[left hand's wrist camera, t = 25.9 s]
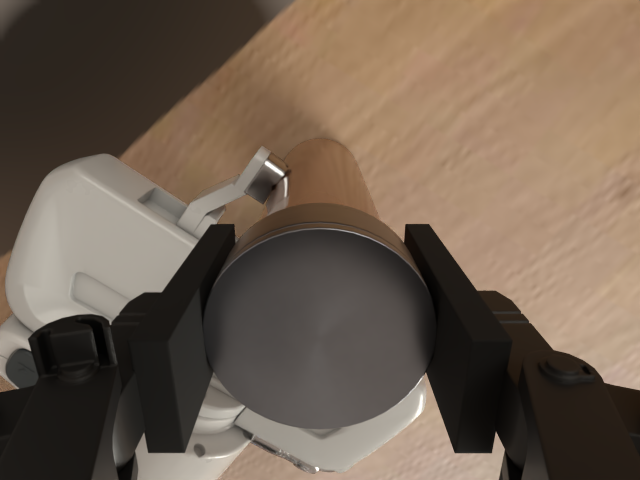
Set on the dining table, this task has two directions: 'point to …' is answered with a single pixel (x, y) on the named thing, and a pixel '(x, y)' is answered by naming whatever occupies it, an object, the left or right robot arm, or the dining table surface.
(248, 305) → the lid
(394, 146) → the dining table surface
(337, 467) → the right robot arm
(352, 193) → the jar
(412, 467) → the dining table surface
